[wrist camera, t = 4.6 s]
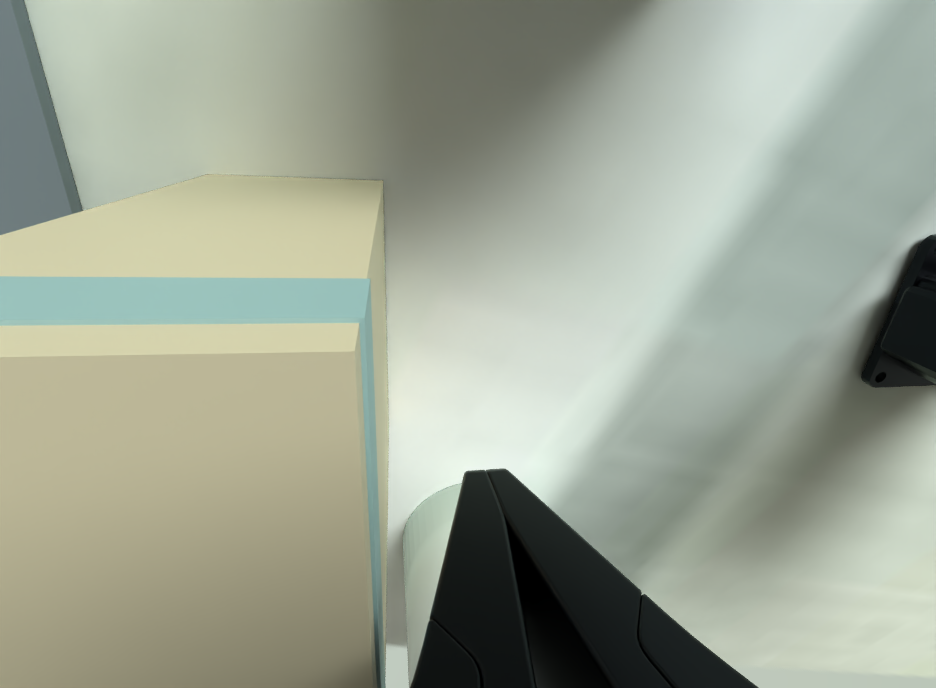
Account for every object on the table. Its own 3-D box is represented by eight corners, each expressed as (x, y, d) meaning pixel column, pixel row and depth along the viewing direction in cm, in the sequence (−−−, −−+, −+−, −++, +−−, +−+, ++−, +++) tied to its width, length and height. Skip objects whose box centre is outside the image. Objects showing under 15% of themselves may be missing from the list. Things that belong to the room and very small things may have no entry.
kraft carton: (384, 178, 15) (360, 345, 4) (390, 428, 18) (386, 863, 8) (205, 172, 14) (-454, 356, 3) (249, 433, 18) (25, 925, 7)
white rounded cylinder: (542, 476, 21) (597, 601, 15) (528, 574, 23) (570, 711, 18) (402, 485, 20) (408, 622, 14) (403, 587, 22) (409, 735, 17)
